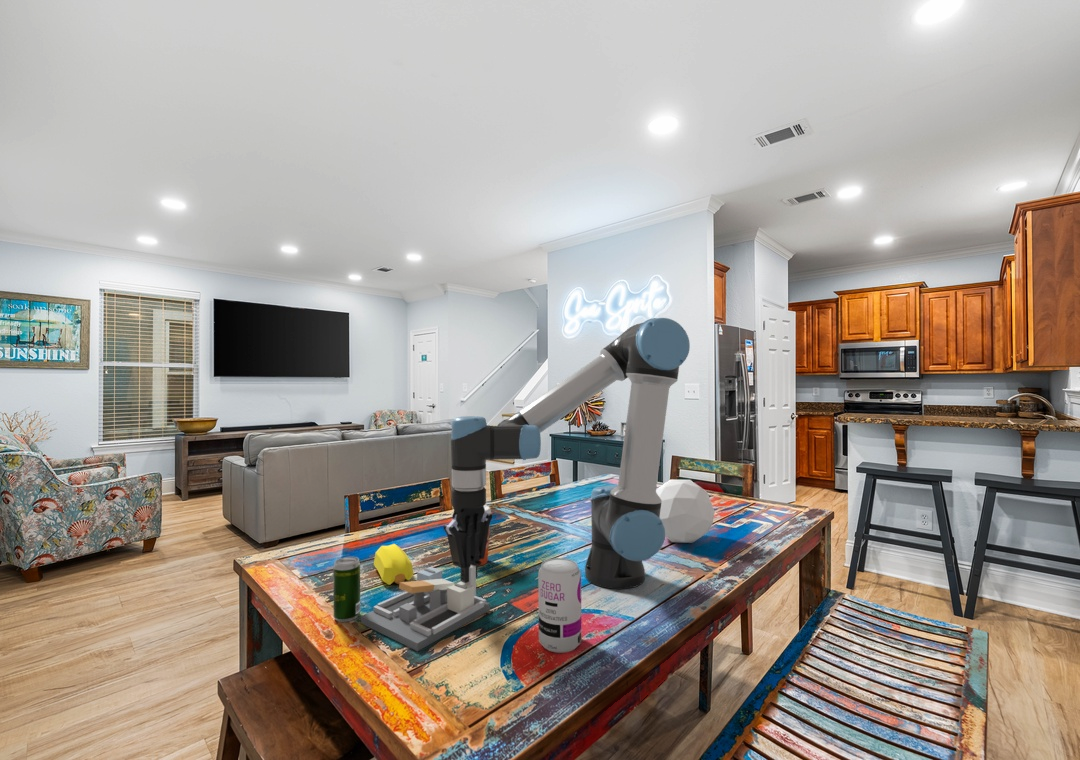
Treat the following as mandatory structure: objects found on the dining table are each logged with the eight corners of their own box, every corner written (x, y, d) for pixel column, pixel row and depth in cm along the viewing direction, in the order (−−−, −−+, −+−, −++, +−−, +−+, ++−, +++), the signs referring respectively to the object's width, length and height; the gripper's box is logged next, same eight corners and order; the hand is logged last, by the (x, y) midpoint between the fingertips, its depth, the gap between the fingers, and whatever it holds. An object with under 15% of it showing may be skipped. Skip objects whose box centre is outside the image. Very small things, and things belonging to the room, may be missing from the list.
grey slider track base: (490, 610, 107) (489, 582, 107) (417, 651, 91) (417, 619, 91) (434, 589, 118) (433, 564, 118) (360, 623, 102) (360, 594, 102)
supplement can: (578, 631, 98) (578, 556, 98) (583, 654, 90) (583, 573, 90) (538, 632, 98) (537, 557, 98) (539, 655, 89) (539, 573, 89)
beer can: (363, 610, 107) (363, 555, 107) (356, 622, 102) (356, 565, 102) (338, 611, 107) (337, 556, 107) (330, 623, 102) (329, 566, 102)
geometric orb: (699, 563, 151) (739, 519, 144) (648, 548, 144) (687, 501, 137) (675, 518, 167) (711, 476, 160) (629, 503, 161) (663, 458, 153)
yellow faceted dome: (385, 591, 117) (416, 584, 121) (384, 563, 117) (416, 557, 121) (371, 566, 133) (400, 561, 137) (371, 542, 133) (399, 537, 137)
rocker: (452, 591, 108) (454, 582, 108) (410, 597, 98) (412, 587, 99) (440, 587, 110) (442, 578, 110) (398, 592, 101) (399, 582, 101)
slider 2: (474, 606, 105) (474, 584, 105) (460, 614, 101) (460, 591, 101) (460, 601, 107) (460, 580, 107) (447, 608, 104) (447, 586, 104)
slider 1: (442, 589, 113) (442, 569, 113) (428, 596, 110) (428, 575, 110) (430, 585, 116) (430, 565, 115) (417, 591, 112) (417, 571, 112)
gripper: (477, 480, 114) (477, 580, 114) (434, 490, 103) (434, 601, 104) (501, 484, 109) (501, 589, 109) (459, 495, 99) (459, 611, 99)
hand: (469, 594), depth 106 cm, fingers closed
